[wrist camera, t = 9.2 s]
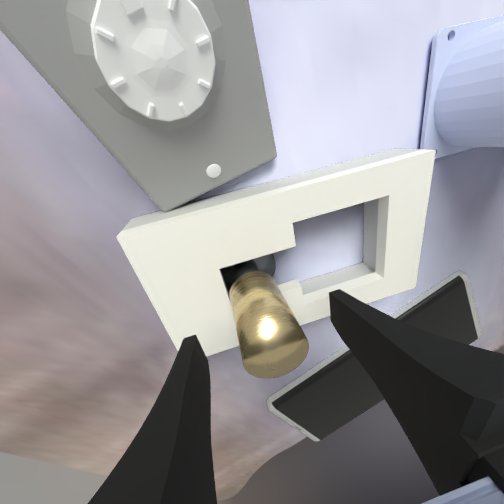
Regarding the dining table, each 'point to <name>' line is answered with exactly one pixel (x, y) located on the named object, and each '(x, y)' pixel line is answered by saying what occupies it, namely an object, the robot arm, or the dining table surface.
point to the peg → (263, 319)
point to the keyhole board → (281, 242)
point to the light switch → (155, 84)
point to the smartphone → (355, 376)
